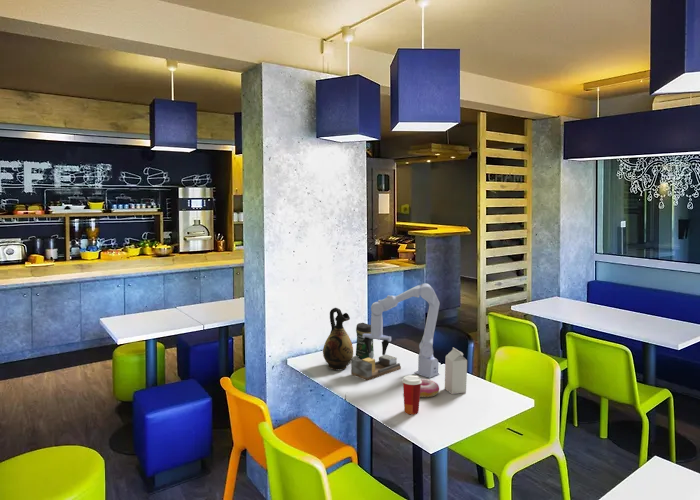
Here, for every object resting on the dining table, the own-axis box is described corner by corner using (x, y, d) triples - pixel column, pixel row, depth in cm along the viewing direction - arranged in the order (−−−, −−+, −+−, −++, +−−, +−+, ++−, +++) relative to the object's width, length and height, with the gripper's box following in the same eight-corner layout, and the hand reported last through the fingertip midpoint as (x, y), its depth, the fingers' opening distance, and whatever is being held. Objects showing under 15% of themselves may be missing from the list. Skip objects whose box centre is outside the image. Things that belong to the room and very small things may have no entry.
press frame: (400, 369, 258) (401, 354, 257) (367, 380, 242) (367, 365, 241) (384, 363, 266) (384, 349, 265) (351, 374, 250) (351, 359, 249)
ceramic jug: (359, 366, 261) (360, 309, 258) (338, 374, 250) (338, 314, 247) (336, 359, 273) (336, 304, 270) (314, 366, 262) (314, 308, 258)
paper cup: (419, 407, 211) (420, 374, 210) (422, 415, 204) (423, 381, 202) (400, 407, 211) (400, 374, 209) (402, 415, 203) (403, 381, 202)
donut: (402, 389, 231) (402, 379, 231) (428, 386, 236) (429, 375, 235) (416, 400, 219) (417, 389, 218) (444, 396, 223) (444, 385, 223)
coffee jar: (353, 356, 277) (353, 323, 276) (363, 353, 283) (364, 320, 281) (365, 361, 270) (365, 326, 268) (376, 358, 276) (376, 324, 274)
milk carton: (451, 394, 226) (452, 352, 224) (444, 388, 232) (445, 347, 230) (466, 392, 227) (467, 351, 225) (458, 387, 234) (460, 346, 232)
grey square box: (396, 365, 259) (396, 357, 258) (389, 367, 255) (389, 360, 254) (386, 361, 264) (386, 354, 263) (378, 364, 260) (378, 356, 260)
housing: (375, 371, 250) (375, 359, 249) (368, 373, 247) (368, 361, 246) (368, 369, 253) (368, 357, 252) (361, 371, 250) (362, 359, 249)
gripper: (359, 326, 251) (359, 354, 252) (387, 330, 245) (387, 358, 246) (365, 323, 257) (365, 350, 259) (392, 326, 251) (392, 353, 252)
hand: (376, 353), depth 253 cm, fingers open, 7 cm apart
